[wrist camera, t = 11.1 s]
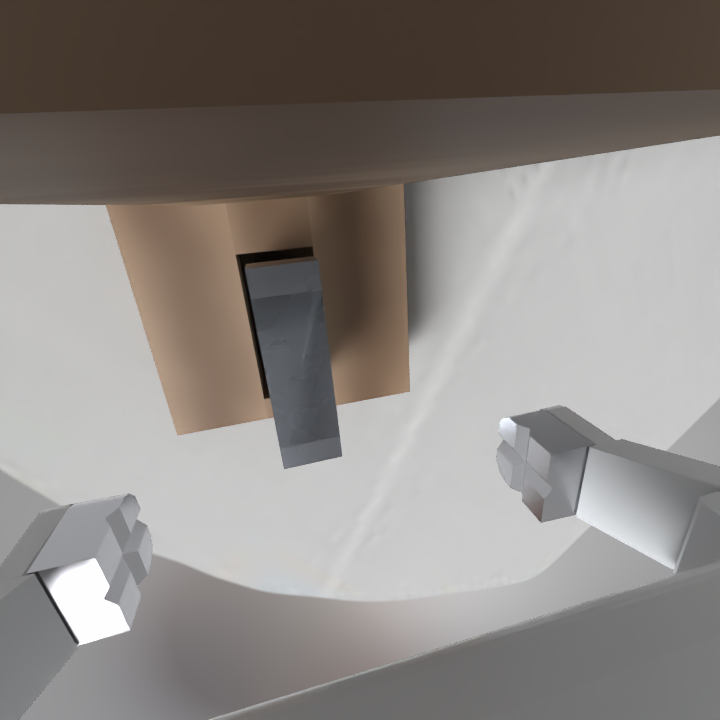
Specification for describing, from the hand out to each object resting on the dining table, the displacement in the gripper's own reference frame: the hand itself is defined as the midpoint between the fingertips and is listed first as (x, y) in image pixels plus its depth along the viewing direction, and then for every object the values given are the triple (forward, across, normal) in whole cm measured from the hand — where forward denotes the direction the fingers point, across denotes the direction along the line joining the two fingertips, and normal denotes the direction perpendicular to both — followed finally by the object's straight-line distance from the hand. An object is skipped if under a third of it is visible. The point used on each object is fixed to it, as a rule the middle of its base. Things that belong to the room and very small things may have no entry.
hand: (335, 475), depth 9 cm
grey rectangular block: (+16, 0, 0) cm, 16 cm away
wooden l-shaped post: (+17, 0, -3) cm, 17 cm away
